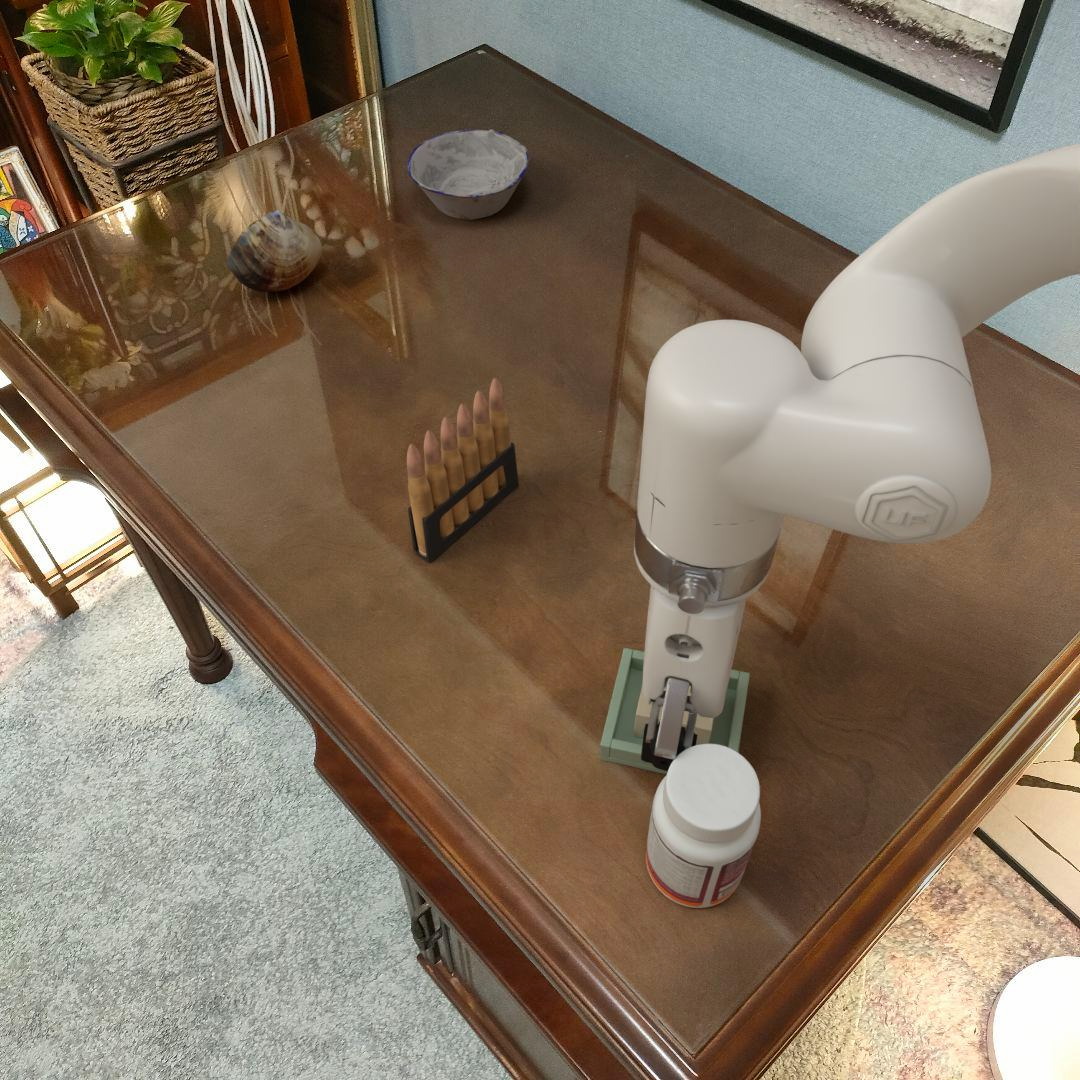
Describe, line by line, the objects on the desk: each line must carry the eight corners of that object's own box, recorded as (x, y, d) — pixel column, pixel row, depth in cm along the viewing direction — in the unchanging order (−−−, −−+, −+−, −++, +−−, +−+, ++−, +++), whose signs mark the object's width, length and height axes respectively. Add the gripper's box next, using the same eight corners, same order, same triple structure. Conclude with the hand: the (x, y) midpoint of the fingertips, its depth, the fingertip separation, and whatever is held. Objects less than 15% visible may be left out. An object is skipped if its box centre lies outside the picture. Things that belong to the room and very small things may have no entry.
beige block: (715, 701, 71) (720, 679, 69) (706, 752, 68) (711, 730, 66) (644, 686, 72) (647, 663, 69) (633, 736, 69) (635, 714, 67)
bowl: (421, 165, 116) (416, 125, 112) (534, 168, 115) (533, 127, 111) (403, 232, 108) (398, 191, 104) (524, 235, 107) (523, 194, 103)
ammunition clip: (429, 564, 80) (411, 457, 70) (413, 552, 81) (392, 445, 71) (519, 485, 85) (513, 376, 76) (502, 474, 86) (494, 365, 76)
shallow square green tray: (746, 688, 72) (750, 672, 71) (730, 789, 67) (735, 774, 66) (622, 662, 74) (623, 647, 72) (599, 759, 69) (599, 745, 67)
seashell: (312, 255, 106) (297, 185, 99) (338, 282, 103) (324, 212, 96) (228, 289, 102) (206, 219, 96) (252, 318, 99) (231, 248, 93)
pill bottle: (733, 813, 66) (759, 730, 57) (750, 908, 62) (781, 835, 54) (638, 818, 66) (650, 736, 57) (650, 914, 62) (664, 842, 53)
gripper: (756, 684, 49) (716, 831, 62) (792, 434, 59) (751, 605, 72) (602, 653, 50) (595, 803, 63) (664, 413, 60) (647, 585, 74)
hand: (678, 697), depth 68 cm, fingers open, 9 cm apart
